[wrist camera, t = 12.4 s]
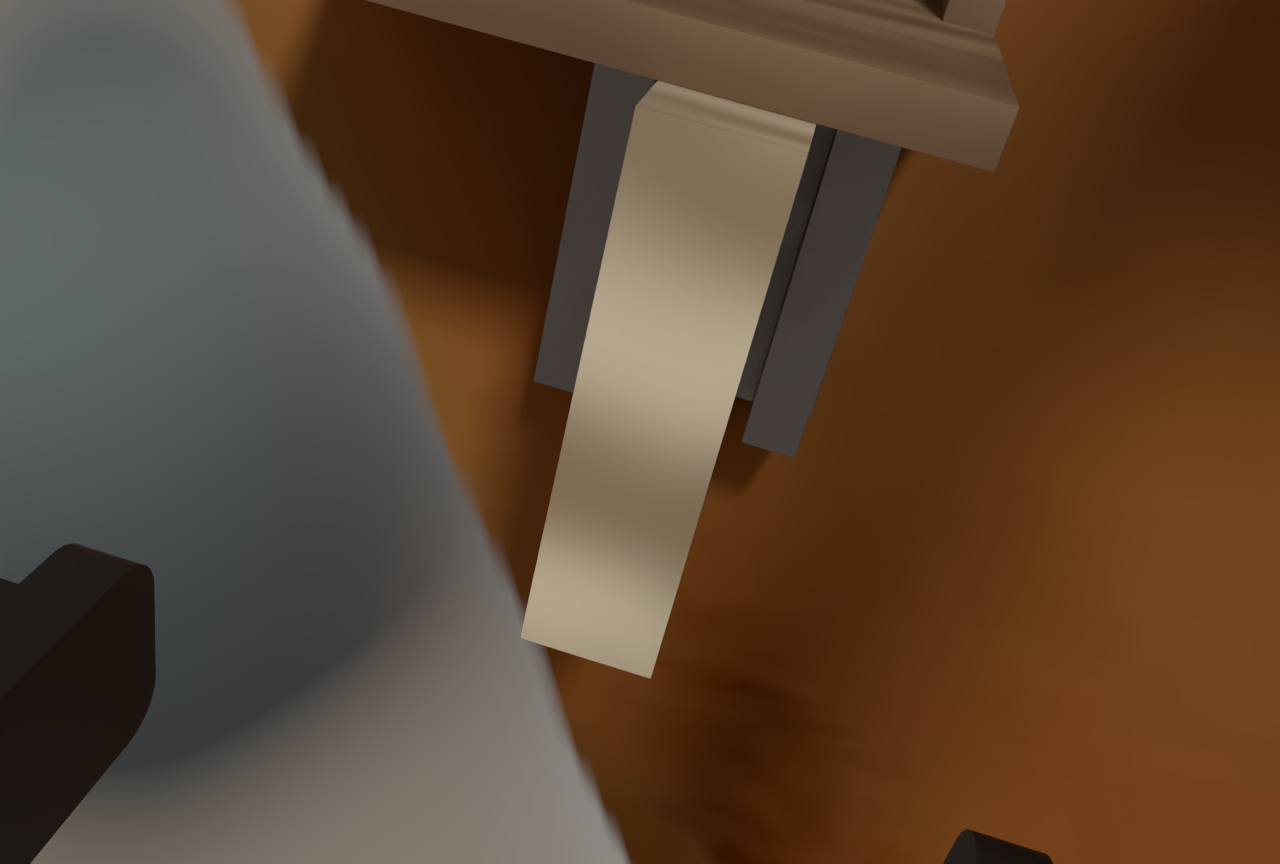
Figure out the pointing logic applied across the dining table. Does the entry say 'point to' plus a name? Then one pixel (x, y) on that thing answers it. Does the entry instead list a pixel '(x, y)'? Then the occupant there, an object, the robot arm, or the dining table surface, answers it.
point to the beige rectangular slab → (661, 366)
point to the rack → (792, 58)
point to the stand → (802, 276)
